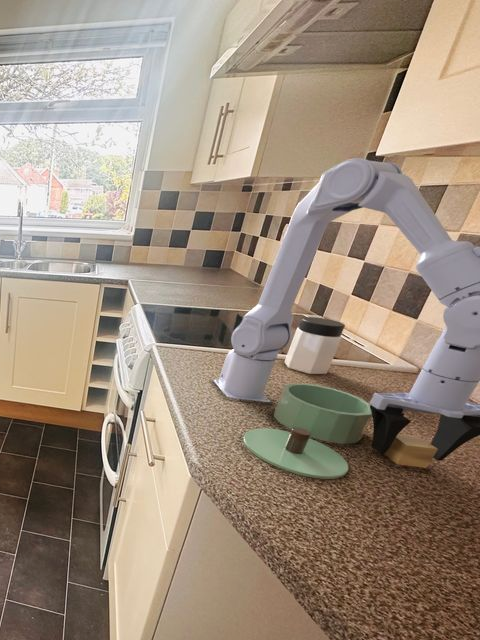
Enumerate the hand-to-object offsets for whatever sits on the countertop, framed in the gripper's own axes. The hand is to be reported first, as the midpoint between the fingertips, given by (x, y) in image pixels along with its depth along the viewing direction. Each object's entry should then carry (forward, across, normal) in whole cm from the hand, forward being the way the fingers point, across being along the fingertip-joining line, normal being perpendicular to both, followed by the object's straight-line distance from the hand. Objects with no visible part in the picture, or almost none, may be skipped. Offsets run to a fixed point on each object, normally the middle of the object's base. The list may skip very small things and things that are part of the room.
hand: (405, 453), depth 65 cm
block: (+2, 0, 0) cm, 2 cm away
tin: (+2, -8, +9) cm, 12 cm away
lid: (+1, -17, -3) cm, 17 cm away
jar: (+2, +6, +43) cm, 43 cm away
